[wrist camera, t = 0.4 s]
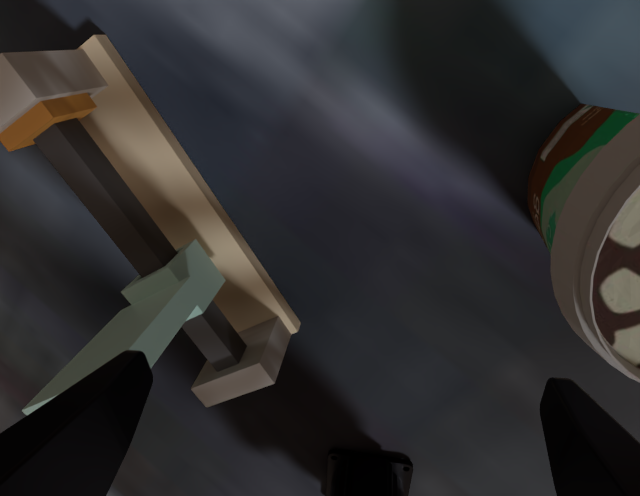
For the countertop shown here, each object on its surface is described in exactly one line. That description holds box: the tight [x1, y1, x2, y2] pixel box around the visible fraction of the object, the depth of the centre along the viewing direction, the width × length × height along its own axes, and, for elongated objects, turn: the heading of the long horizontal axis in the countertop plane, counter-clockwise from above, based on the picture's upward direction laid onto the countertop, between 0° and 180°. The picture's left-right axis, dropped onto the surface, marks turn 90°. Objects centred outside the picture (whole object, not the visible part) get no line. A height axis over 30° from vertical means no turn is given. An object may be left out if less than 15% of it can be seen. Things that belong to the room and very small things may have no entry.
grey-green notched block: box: [22, 239, 226, 415], centre depth 21 cm, size 3×5×10 cm, turn 120°
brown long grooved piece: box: [0, 35, 301, 408], centre depth 24 cm, size 20×6×6 cm, turn 30°
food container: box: [527, 104, 640, 382], centre depth 19 cm, size 12×6×10 cm, turn 43°
